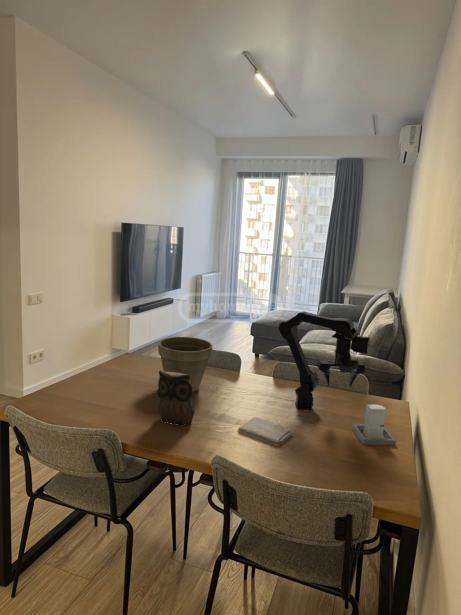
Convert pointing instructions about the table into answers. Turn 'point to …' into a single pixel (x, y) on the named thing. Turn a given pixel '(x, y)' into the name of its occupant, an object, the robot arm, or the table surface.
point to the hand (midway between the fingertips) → (339, 386)
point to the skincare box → (374, 421)
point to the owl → (175, 398)
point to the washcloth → (266, 430)
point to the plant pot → (185, 357)
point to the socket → (373, 441)
